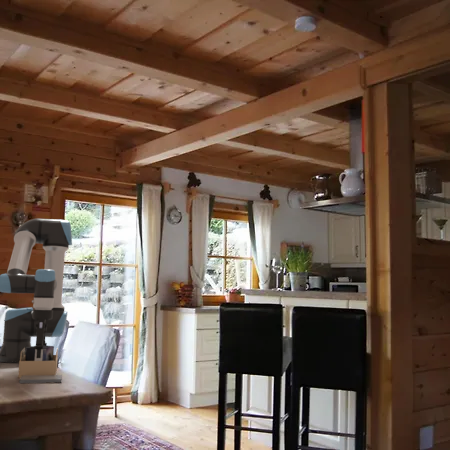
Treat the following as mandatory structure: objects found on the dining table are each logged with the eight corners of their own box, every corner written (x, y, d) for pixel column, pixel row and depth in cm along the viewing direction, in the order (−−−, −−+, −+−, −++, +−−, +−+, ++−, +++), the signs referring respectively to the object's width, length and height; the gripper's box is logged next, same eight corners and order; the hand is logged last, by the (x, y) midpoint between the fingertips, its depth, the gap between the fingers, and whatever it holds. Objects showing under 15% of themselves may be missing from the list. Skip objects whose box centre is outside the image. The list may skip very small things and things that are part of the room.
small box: (38, 376, 205) (40, 348, 207) (23, 375, 207) (25, 347, 208) (53, 372, 216) (54, 345, 217) (38, 371, 217) (39, 344, 218)
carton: (22, 370, 219) (24, 347, 220) (56, 370, 222) (58, 347, 223) (18, 377, 201) (20, 352, 202) (55, 377, 204) (56, 352, 205)
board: (21, 378, 199) (22, 375, 200) (61, 378, 203) (62, 374, 203) (19, 383, 190) (19, 379, 190) (61, 382, 193) (61, 379, 194)
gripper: (35, 308, 225) (31, 360, 222) (30, 309, 201) (26, 369, 198) (54, 308, 227) (50, 360, 224) (51, 310, 203) (47, 368, 200)
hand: (39, 364), depth 211 cm, fingers open, 13 cm apart
